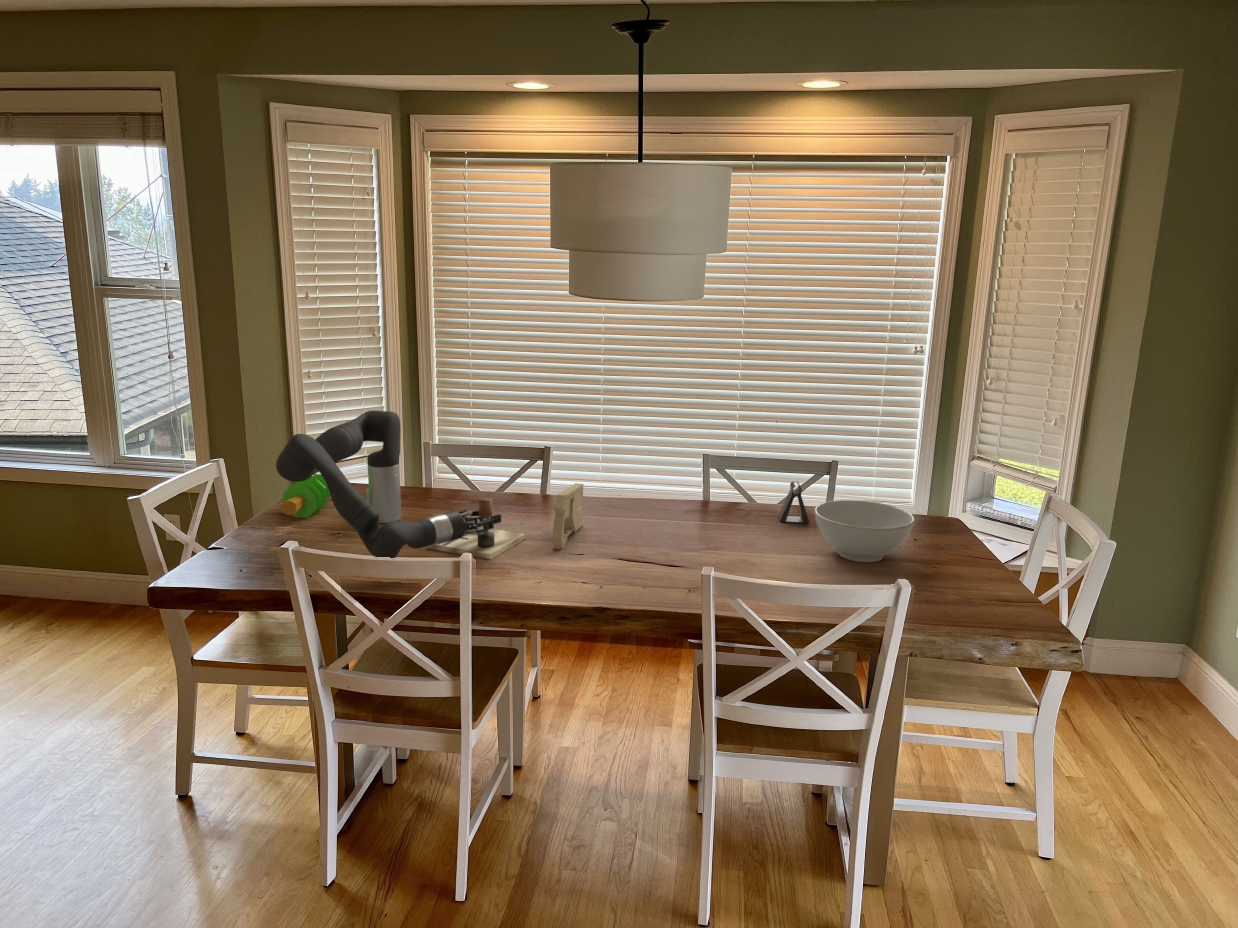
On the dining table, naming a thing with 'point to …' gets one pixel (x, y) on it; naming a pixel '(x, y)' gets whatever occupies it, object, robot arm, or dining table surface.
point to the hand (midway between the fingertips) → (492, 515)
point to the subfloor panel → (470, 545)
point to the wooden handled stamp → (485, 511)
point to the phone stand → (787, 505)
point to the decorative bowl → (863, 528)
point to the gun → (567, 514)
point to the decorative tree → (305, 497)
